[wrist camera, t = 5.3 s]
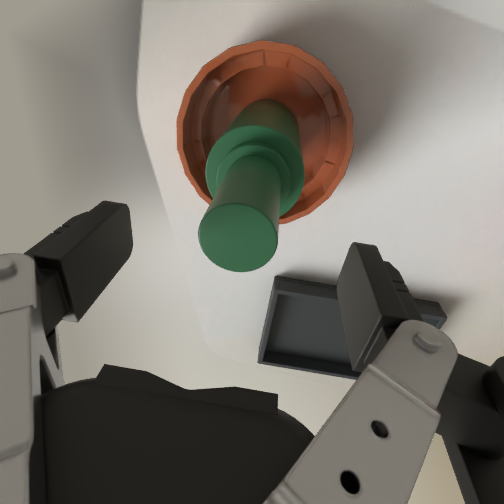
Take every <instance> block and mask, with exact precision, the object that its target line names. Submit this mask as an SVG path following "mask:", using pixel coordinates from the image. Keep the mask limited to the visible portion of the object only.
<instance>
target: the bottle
mask: <svg viewBox="0 0 504 504" xmlns="http://www.w3.org/2000/svg"><path fill="white" fill-rule="evenodd" d="M205 173H206V182H207V186H208V189H209V191H210V194H211V196H212V197H213V200H212V202H211V203H210V205H209V207H208V209H207V211H206V213H205V215H204V217H203V219H202V221H201V223H200V226H199V231H198V238H199V243H200V246H201V248H202V250H203V252H204V253H205V255H206V256H207V257H208V258H209V259H210V260H211V261H212V262H213V263H215V264H216V265H218V266H219V267H221V268H224V269H226V270H229V271H234V272H248V271H253V270H256V269H258V268H260V267H262V266H264V265H265V264H266V263H267V262H269V261H270V259H271V258H272V257H273V255H274V254H275V251H276V249H277V244H278V229H279V217H280V216H282V215H283V214H285V213H286V212H287V211H289V210H290V209H291V208H292V207H293V206H294V204H295V203H296V202H297V200H298V199H299V197H300V195H301V192H302V190H303V186H304V181H305V170H304V162H303V155H302V149H301V142H300V135H299V128H298V124H297V121H296V118H295V116H294V114H293V113H292V112H291V110H290V109H289V108H288V107H287V106H285V105H284V104H282V103H281V102H278V101H276V100H272V99H262V100H257V101H255V102H252V103H251V104H249V105H248V106H246V107H245V108H244V109H243V110H242V111H241V113H240V114H239V115H238V116H237V118H236V119H235V120H234V121H233V122H232V124H231V125H230V126H229V127H228V128H227V130H226V131H225V132H224V133H223V135H222V136H221V137H220V138H219V139H218V141H217V142H216V143H215V144H214V146H213V147H212V149H211V151H210V153H209V156H208V158H207V162H206V169H205Z"/></svg>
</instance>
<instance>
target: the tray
mask: <svg viewBox="0 0 504 504" xmlns="http://www.w3.org/2000/svg"><path fill="white" fill-rule="evenodd" d="M413 300H414V302H415V304H416V306H417V308H418V310H419V312H420V314H421V316H422V318H423V320H424V322H425V323H428V324H430V325H432V326H434V327H436V328H438V329H440V328H441V327H442V325H443V324H444V322H445V321H446V319H447V316H446V314H445V313H444V311H443V309H442V308H441V306H440V304H439V303H436V302H430V301H424V300H418V299H413ZM258 363H259V364H265V365H271V366H277V367H283V368H289V369H295V370H301V371H307V372H313V373H319V374H325V375H331V376H337V377H343V378H349V379H354V380H357V379H358V378H359V376H360V375H361V373H362V372H358V371H353V370H352V365H351V360H350V355H349V350H348V345H347V340H346V335H345V330H344V325H343V320H342V315H341V310H340V305H339V300H338V295H337V286H333V285H327V284H320V283H314V282H308V281H302V280H296V279H290V278H284V277H278V276H275V278H274V282H273V287H272V291H271V296H270V301H269V305H268V310H267V314H266V319H265V323H264V328H263V333H262V337H261V342H260V346H259V353H258Z"/></svg>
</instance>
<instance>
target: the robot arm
mask: <svg viewBox="0 0 504 504" xmlns="http://www.w3.org/2000/svg"><path fill="white" fill-rule="evenodd" d="M132 248H133V238H132V229H131V220H130V211H129V208H128V206H127V205H126V204H123V203H116V202H111V201H102V202H101V203H99V204H98V205H97V206H96V207H94V208H93V209H92V210H90V211H89V212H85V213H82V214H80V215H77V216H74V217H72V218H71V219H70V220H68V221H67V222H66V223H64V224H63V225H62V227H59V228H58V229H56V230H55V231H54V233H51V234H50V235H48V236H47V237H46V238H44V239H43V240H41V241H40V242H39V243H37V244H36V245H35V246H33V247H32V248H31V249H30V250H28V251H27V252H25V253H24V254H16V253H12V254H11V253H10V254H2V255H0V504H407V503H408V500H409V498H410V495H411V493H412V490H413V488H414V485H415V483H416V480H417V477H418V475H419V472H420V470H421V467H422V465H423V462H424V459H425V457H426V454H427V452H428V449H429V447H430V444H431V441H432V439H433V436H434V434H435V433H437V434H439V435H442V438H443V440H444V444H445V446H446V449H447V452H448V455H449V458H450V461H451V463H452V467H453V470H454V473H455V475H456V478H457V481H458V484H459V487H460V490H461V493H462V496H463V499H464V501H465V504H504V356H503V357H500V358H498V359H497V360H496V361H495V362H494V363H493V364H492V365H491V367H490V366H487V365H485V364H482V363H480V362H478V361H475V360H473V359H470V358H468V357H465V356H463V355H460V354H458V353H457V349H456V347H455V345H454V343H453V342H452V341H451V339H450V338H449V337H448V336H447V335H446V334H445V333H443V332H442V331H441V330H439V329H438V328H436V327H434V326H432V325H430V324H428V323H425V322H424V320H423V318H422V316H421V314H420V312H419V310H418V308H417V306H416V304H415V302H414V300H413V298H412V296H411V294H410V293H409V290H408V288H407V286H406V285H405V284H404V283H405V282H404V280H403V278H402V276H401V274H400V272H399V271H398V270H397V269H396V268H395V267H393V266H392V265H391V264H390V263H389V262H386V261H383V259H382V257H381V255H380V253H379V251H378V248H377V247H376V246H375V245H369V244H363V243H357V242H353V243H352V244H351V246H350V248H349V251H348V254H347V256H346V259H345V262H344V264H343V267H342V270H341V273H340V275H339V278H338V283H337V295H338V300H339V305H340V310H341V315H342V320H343V325H344V330H345V335H346V340H347V345H348V350H349V355H350V360H351V365H352V370H353V371H358V372H362V373H361V375H360V376H359V378H358V379H357V380H356V382H355V383H354V384H353V386H352V387H351V388H350V390H349V391H348V392H347V394H346V395H345V396H344V398H343V399H342V401H341V402H340V403H339V405H338V406H337V407H336V409H335V410H334V411H333V413H332V414H331V416H330V417H329V418H328V419H327V421H326V422H325V424H324V425H323V426H322V428H321V429H320V430H319V432H318V433H317V435H316V436H314V435H313V434H312V433H311V432H310V431H309V430H308V429H307V428H306V427H305V426H304V425H303V424H301V423H300V422H299V421H298V420H296V419H295V418H294V417H292V416H290V415H289V414H287V413H286V412H284V411H282V410H280V409H278V408H277V407H278V394H274V393H269V392H263V391H257V390H251V389H245V388H240V387H224V388H211V389H197V390H187V389H184V388H182V387H179V386H177V385H175V384H173V383H171V382H169V381H166V380H164V379H162V378H160V377H158V376H156V375H153V374H151V373H149V372H147V371H141V370H136V369H130V368H124V367H118V366H113V365H107V364H104V366H103V367H102V369H101V371H100V372H99V374H98V376H97V377H96V378H90V379H85V380H80V381H76V382H73V383H69V384H66V385H65V384H64V379H63V370H62V362H61V353H60V344H59V335H58V330H57V327H56V325H57V324H58V323H59V322H60V321H61V320H66V321H72V322H79V320H80V319H81V318H82V317H83V315H84V314H85V313H86V312H87V310H88V309H89V308H90V306H91V305H92V304H93V303H94V301H95V300H96V299H97V298H98V296H99V295H100V294H101V293H102V291H103V290H104V289H105V287H106V286H107V285H108V284H109V283H110V281H111V280H112V279H113V278H114V276H115V275H116V274H117V272H118V271H119V270H120V269H121V267H122V266H123V265H124V264H125V262H126V261H127V260H128V259H129V257H130V255H131V252H132Z"/></svg>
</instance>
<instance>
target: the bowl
mask: <svg viewBox="0 0 504 504" xmlns="http://www.w3.org/2000/svg"><path fill="white" fill-rule="evenodd" d="M262 99H272V100H276V101H278V102H281V103H282V104H284V105H285V106H287V107H288V108H289V109H290V110H291V112H292V113H293V114H294V116H295V118H296V121H297V124H298V128H299V135H300V142H301V149H302V155H303V162H304V170H305V181H304V186H303V190H302V192H301V195H300V197H299V199H298V200H297V202H296V203H295V204H294V206H293V207H292V208H291V209H290V210H289V211H287V212H286V213H285V214H283V215H282V216H280V217H279V224H285V223H289V222H291V221H294V220H296V219H298V218H301V217H303V216H305V215H308V214H309V213H311V212H312V211H314V210H315V209H316V208H317V207H318V206H320V205H321V204H322V203H323V202H325V201H326V200H327V199H328V198H329V197H330V196H331V195H332V193H333V192H334V190H335V189H336V187H337V186H338V184H339V183H340V181H341V180H342V179H343V177H344V175H345V173H346V170H347V166H348V163H349V160H350V157H351V153H352V150H353V115H352V113H351V110H350V107H349V104H348V101H347V98H346V95H345V92H344V89H343V88H342V86H341V84H340V83H339V82H338V81H337V79H336V78H335V77H334V76H333V74H332V73H331V72H330V71H329V69H328V68H327V67H326V65H325V64H324V63H323V62H322V61H320V60H319V59H317V58H315V57H314V56H312V55H310V54H309V53H307V52H305V51H303V50H302V49H300V48H298V47H297V46H295V45H291V44H284V43H278V42H271V41H265V40H259V41H255V42H251V43H247V44H242V45H238V46H234V47H230V48H228V49H227V50H225V51H224V52H222V53H221V54H220V55H218V56H217V57H215V58H214V59H212V60H211V61H209V62H208V63H206V64H205V65H204V66H203V67H202V68H201V70H200V71H199V72H198V74H197V75H196V77H195V78H194V79H193V81H192V82H191V84H190V85H189V86H188V88H187V89H186V91H185V94H184V97H183V100H182V104H181V107H180V110H179V113H178V117H177V150H178V153H179V157H180V160H181V163H182V166H183V169H184V173H185V175H186V177H187V178H188V180H189V181H190V183H191V184H192V186H193V187H194V189H195V190H196V192H197V193H198V195H199V196H200V197H201V198H202V199H203V200H205V201H206V202H207V203H208V204H209V205H210V203H211V202H212V200H213V197H212V196H211V194H210V191H209V189H208V186H207V182H206V173H205V169H206V162H207V158H208V156H209V153H210V151H211V149H212V147H213V146H214V144H215V143H216V142H217V141H218V139H219V138H220V137H221V136H222V135H223V133H224V132H225V131H226V130H227V128H228V127H229V126H230V125H231V124H232V122H233V121H234V120H235V119H236V118H237V116H238V115H239V114H240V113H241V111H242V110H243V109H244V108H245V107H246V106H248V105H249V104H251V103H252V102H255V101H257V100H262Z"/></svg>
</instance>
